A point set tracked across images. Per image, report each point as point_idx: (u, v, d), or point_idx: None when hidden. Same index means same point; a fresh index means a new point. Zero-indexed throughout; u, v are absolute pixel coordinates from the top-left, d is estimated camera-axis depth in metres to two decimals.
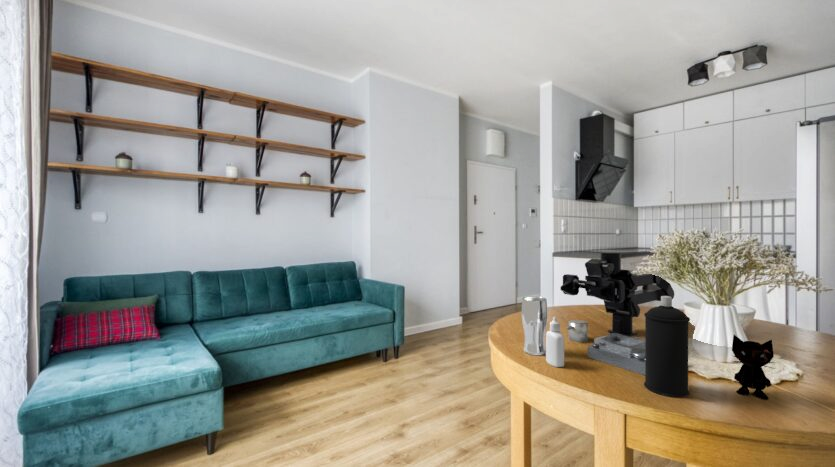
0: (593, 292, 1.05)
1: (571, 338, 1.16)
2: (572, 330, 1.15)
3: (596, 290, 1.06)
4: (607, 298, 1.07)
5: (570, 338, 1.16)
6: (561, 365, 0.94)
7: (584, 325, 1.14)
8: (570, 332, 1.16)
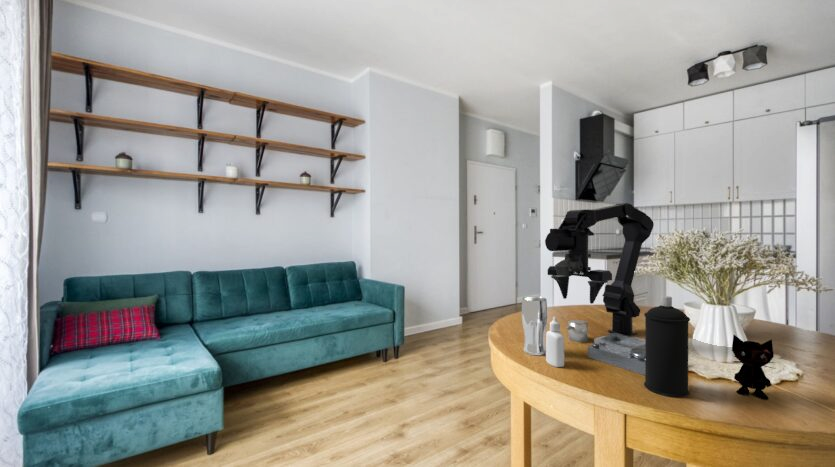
0: (593, 300, 1.12)
1: (571, 338, 1.16)
2: (572, 330, 1.15)
3: (593, 297, 1.12)
4: (601, 284, 1.12)
5: (570, 338, 1.16)
6: (561, 365, 0.94)
7: (584, 325, 1.14)
8: (570, 332, 1.16)
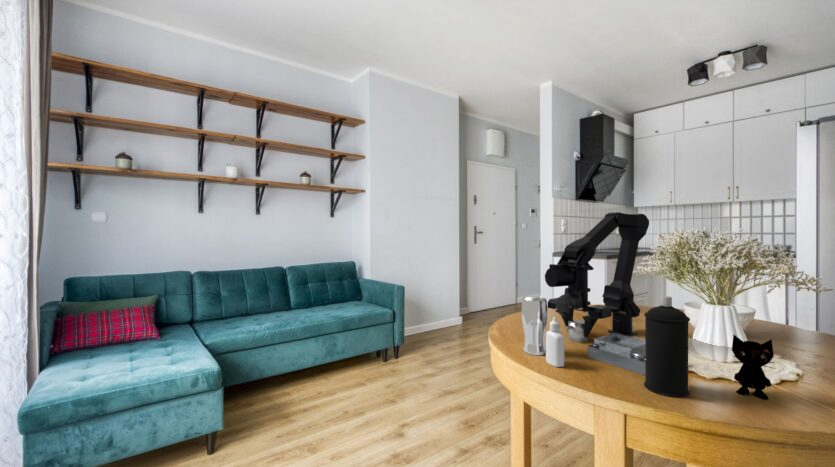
0: (588, 334, 1.14)
1: (571, 338, 1.16)
2: (572, 330, 1.15)
3: (587, 331, 1.13)
4: (596, 319, 1.14)
5: (570, 338, 1.16)
6: (561, 365, 0.94)
7: (584, 325, 1.14)
8: (570, 332, 1.16)
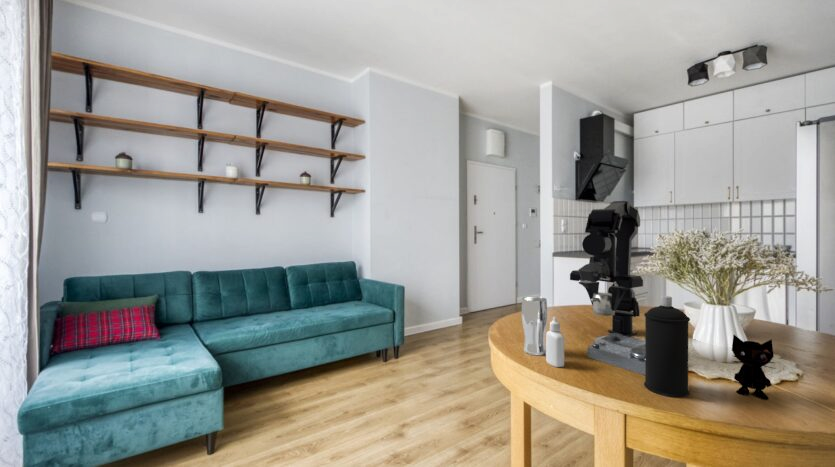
0: (615, 307, 1.03)
1: (596, 311, 1.05)
2: (597, 302, 1.05)
3: (615, 303, 1.03)
4: (624, 290, 1.03)
5: (595, 311, 1.06)
6: (561, 365, 0.94)
7: (611, 297, 1.04)
8: (595, 304, 1.06)
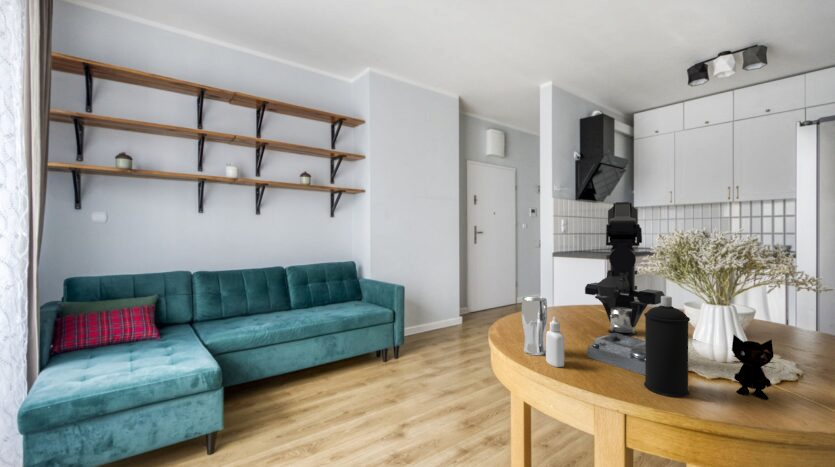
0: (635, 323, 0.98)
1: (615, 328, 1.00)
2: (616, 319, 1.00)
3: (635, 320, 0.98)
4: (645, 305, 0.98)
5: (613, 328, 1.00)
6: (561, 365, 0.94)
7: (631, 313, 0.98)
8: (614, 321, 1.00)
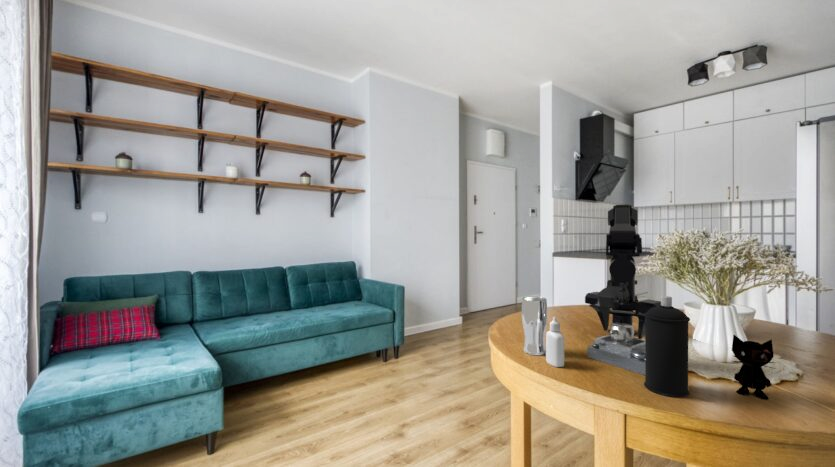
0: (642, 334, 0.97)
1: None
2: (616, 335, 1.00)
3: (642, 331, 0.96)
4: None
5: None
6: (561, 365, 0.94)
7: (630, 329, 0.99)
8: (613, 337, 1.00)
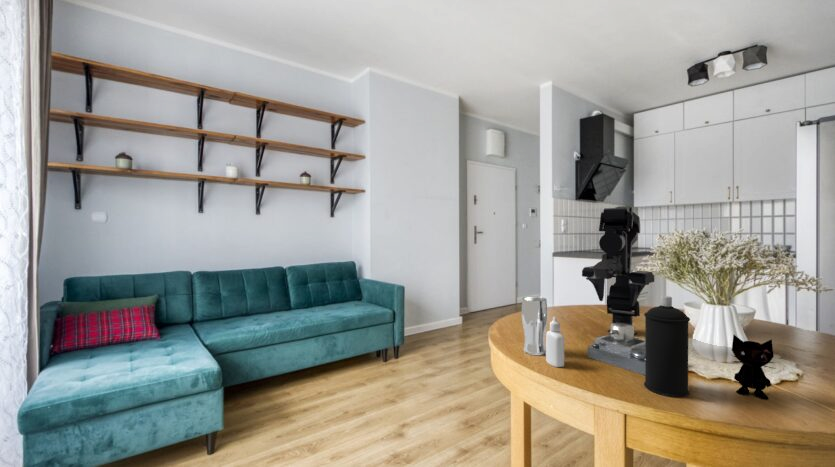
0: (634, 302, 1.07)
1: None
2: (616, 335, 1.00)
3: (634, 299, 1.06)
4: (642, 286, 1.07)
5: None
6: (561, 365, 0.94)
7: (630, 329, 0.99)
8: (613, 337, 1.00)
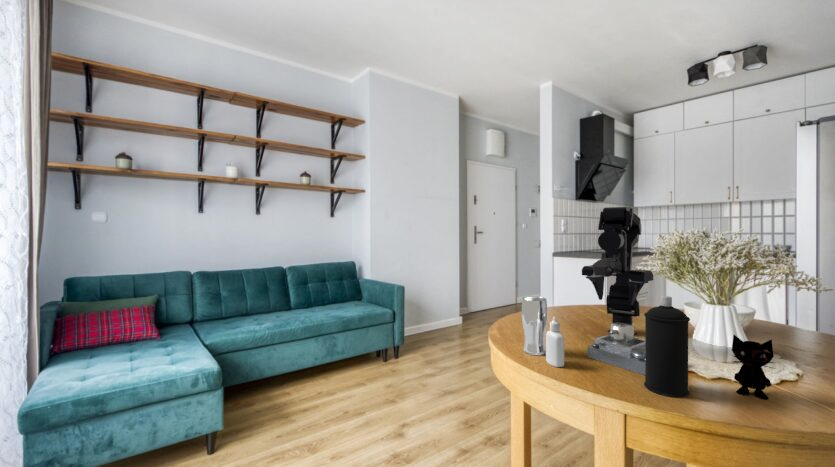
0: (633, 301, 1.07)
1: None
2: (616, 335, 1.00)
3: (633, 298, 1.07)
4: (641, 285, 1.07)
5: None
6: (561, 365, 0.94)
7: (630, 329, 0.99)
8: (613, 337, 1.00)
